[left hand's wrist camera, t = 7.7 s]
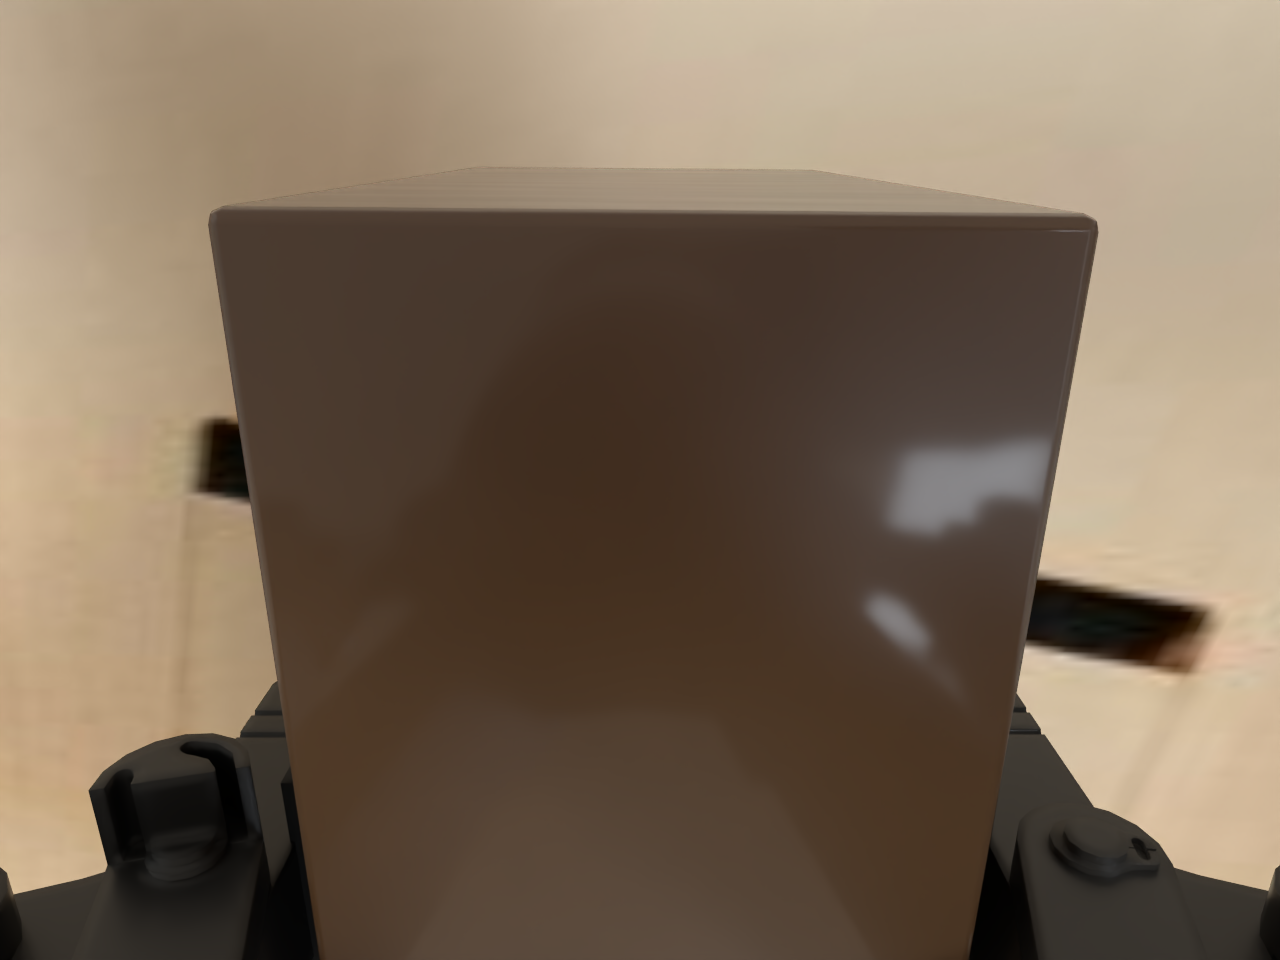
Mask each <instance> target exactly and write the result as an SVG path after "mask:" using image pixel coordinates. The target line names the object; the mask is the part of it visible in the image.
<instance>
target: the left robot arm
mask: <svg viewBox="0 0 1280 960" xmlns="http://www.w3.org/2000/svg"><path fill="white" fill-rule="evenodd" d="M89 794H90V798H91V802H92V806H93V810H94V814H95V818H96V821H97V825H98V829H99V833H100V837H101V841H102V845H103V848H104V852H105V856H106V860H107V864H108V866H107V869H106V871H105V872H103V873H100V874H97V875H93V876H90V877H87V878H83V879H79V880H75V881H71V882H66V883H62V884H58V885H53V886H49V887H44V888H40V889H36V890H31V891H27V892H23V893H18V894H14V895H13V892H12V888H11V885H10V882H9V879H8V876H7V873H6V872H5V871H4V870H3V869H2V868H0V960H320V958H319V951H318V944H317V938H316V931H315V925H314V918H313V911H312V905H311V898H310V892H309V885H308V878H307V872H306V865H305V859H304V852H303V846H302V839H301V832H300V826H299V819H298V813H297V806H296V799H295V793H294V786H293V780H292V773H291V766H290V760H289V753H288V747H287V740H286V733H285V727H284V720H283V714H282V707H281V700H280V694H279V687H278V681H277V682H275V683H274V684H273V685H272V686H271V688H270V689H269V691H268V692H267V694H266V695H265V697H264V698H263V700H262V701H261V703H260V704H259V705H258V707H257V708H256V710H255V716H251V717H250V719H249V720H248V722H247V723H246V725H245V726H244V728H243V729H242V731H241V735H240V738H236V739H234V738H230V737H226V736H222V735H218V734H213V733H211V734H185V735H181V736H177V737H173V738H169V739H164V740H160V741H156V742H154V743H151V744H149V745H147V746H145V747H142V748H140V749H138V750H136V751H133V752H131V753H129V754H127V755H125V756H124V757H123V758H121V759H120V760H118V761H117V762H116V763H114V764H113V765H112V766H110V767H109V768H107V769H106V770H105V771H103V772H102V774H101V775H100V776H99V778H98V779H97V780H96V782H95V783H94V784H93V785H92V787H91V788H90V789H89ZM969 960H1280V866H1278V867H1277V868H1276V869H1275V872H1274V875H1273V878H1272V882H1271V885H1270V888H1269V891H1266V890H1261V889H1257V888H1253V887H1248V886H1244V885H1239V884H1235V883H1231V882H1226V881H1222V880H1218V879H1213V878H1209V877H1204V876H1200V875H1197V874H1193V873H1190V872H1187V871H1183V870H1180V869H1177V868H1174V867H1173V864H1172V863H1171V861H1170V860H1169V858H1168V857H1167V855H1166V854H1165V852H1164V851H1163V849H1162V848H1161V846H1160V844H1159V843H1158V842H1156V841H1155V840H1154V839H1153V838H1151V837H1150V836H1149V835H1148V834H1147V833H1145V832H1144V831H1143V830H1142V829H1141V828H1139V827H1138V826H1137V825H1135V824H1133V823H1131V822H1129V821H1127V820H1125V819H1123V818H1121V817H1119V816H1117V815H1115V814H1113V813H1111V812H1109V811H1106V810H1102V809H1098V808H1095V807H1093V805H1092V804H1091V802H1090V801H1089V799H1088V798H1087V796H1086V795H1085V793H1084V792H1083V790H1082V789H1081V787H1080V786H1079V784H1078V783H1077V782H1076V780H1075V779H1074V777H1073V776H1072V774H1071V773H1070V771H1069V770H1068V768H1067V767H1066V765H1065V764H1064V762H1063V761H1062V760H1061V758H1060V757H1059V755H1058V754H1057V752H1056V751H1055V749H1054V748H1053V746H1052V745H1051V743H1050V742H1049V740H1048V739H1047V738H1046V736H1045V735H1041V729H1040V727H1039V726H1038V724H1037V723H1036V721H1035V720H1034V718H1033V717H1032V715H1031V714H1030V713H1027V712H1026V707H1025V705H1024V704H1023V702H1022V701H1021V699H1020V698H1019V696H1018V695H1017V693H1016V698H1015V703H1014V709H1013V715H1012V720H1011V726H1010V731H1009V737H1008V743H1007V748H1006V754H1005V759H1004V765H1003V771H1002V776H1001V782H1000V787H999V793H998V799H997V804H996V810H995V816H994V821H993V827H992V832H991V838H990V844H989V849H988V855H987V860H986V866H985V872H984V877H983V883H982V889H981V894H980V900H979V905H978V911H977V917H976V922H975V928H974V933H973V939H972V945H971V950H970V956H969Z"/></svg>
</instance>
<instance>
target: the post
mask: <svg viewBox="0 0 1280 960" xmlns="http://www.w3.org/2000/svg"><path fill="white" fill-rule="evenodd" d="M208 226H209V232H210V239H211V246H212V252H213V259H214V265H215V272H216V279H217V285H218V292H219V298H220V305H221V312H222V318H223V325H224V331H225V338H226V345H227V351H228V358H229V364H230V371H231V377H232V384H233V391H234V397H235V404H236V410H237V417H238V424H239V430H240V437H241V443H242V450H243V457H244V463H245V470H246V476H247V483H248V490H249V496H250V503H251V509H252V516H253V523H254V529H255V536H256V542H257V549H258V555H259V562H260V569H261V575H262V582H263V588H264V595H265V602H266V608H267V615H268V621H269V628H270V635H271V641H272V648H273V654H274V661H275V668H276V674H277V681H278V687H279V694H280V700H281V707H282V714H283V720H284V727H285V733H286V740H287V747H288V753H289V760H290V766H291V773H292V780H293V786H294V793H295V799H296V806H297V813H298V819H299V826H300V832H301V839H302V846H303V852H304V859H305V865H306V872H307V878H308V885H309V892H310V898H311V905H312V911H313V918H314V925H315V931H316V938H317V944H318V951H319V958H320V960H969V956H970V950H971V945H972V939H973V933H974V928H975V922H976V917H977V911H978V905H979V900H980V894H981V889H982V883H983V877H984V872H985V866H986V860H987V855H988V849H989V844H990V838H991V832H992V827H993V821H994V816H995V810H996V804H997V799H998V793H999V787H1000V782H1001V776H1002V771H1003V765H1004V759H1005V754H1006V748H1007V743H1008V737H1009V731H1010V726H1011V720H1012V715H1013V709H1014V703H1015V698H1016V692H1017V686H1018V681H1019V675H1020V670H1021V664H1022V658H1023V653H1024V647H1025V642H1026V636H1027V630H1028V625H1029V619H1030V613H1031V608H1032V602H1033V597H1034V591H1035V585H1036V580H1037V574H1038V569H1039V563H1040V557H1041V552H1042V546H1043V540H1044V535H1045V529H1046V524H1047V518H1048V512H1049V507H1050V501H1051V496H1052V490H1053V484H1054V479H1055V473H1056V467H1057V462H1058V456H1059V451H1060V445H1061V439H1062V434H1063V428H1064V423H1065V417H1066V411H1067V406H1068V400H1069V395H1070V389H1071V383H1072V378H1073V372H1074V366H1075V361H1076V355H1077V350H1078V344H1079V338H1080V333H1081V327H1082V322H1083V316H1084V310H1085V305H1086V299H1087V293H1088V288H1089V282H1090V277H1091V271H1092V265H1093V260H1094V254H1095V249H1096V243H1097V237H1098V227H1097V221H1096V220H1095V219H1094V218H1092V217H1090V216H1088V215H1086V214H1084V213H1078V212H1071V211H1065V210H1059V209H1053V208H1046V207H1040V206H1034V205H1028V204H1021V203H1015V202H1009V201H1003V200H996V199H990V198H984V197H978V196H971V195H965V194H959V193H953V192H946V191H940V190H934V189H928V188H921V187H915V186H909V185H903V184H896V183H890V182H884V181H878V180H871V179H865V178H859V177H853V176H846V175H840V174H834V173H828V172H821V171H815V170H757V169H643V168H529V167H476V168H469V169H463V170H456V171H450V172H443V173H436V174H430V175H423V176H417V177H410V178H404V179H397V180H391V181H384V182H377V183H371V184H364V185H358V186H351V187H345V188H338V189H332V190H325V191H319V192H312V193H305V194H299V195H292V196H286V197H279V198H273V199H266V200H260V201H253V202H247V203H240V204H233V205H227V206H222V207H220V208H218V209H216V210H213V211H212V212H211V214H210V218H209V224H208Z"/></svg>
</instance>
